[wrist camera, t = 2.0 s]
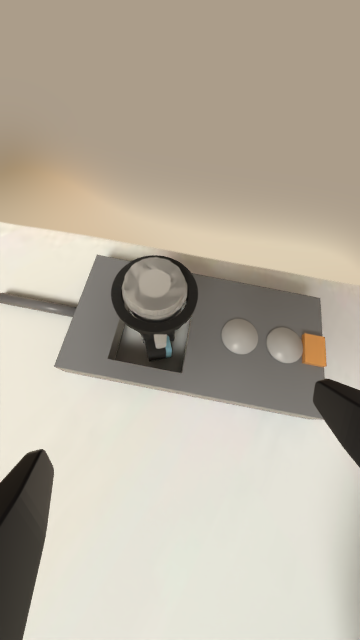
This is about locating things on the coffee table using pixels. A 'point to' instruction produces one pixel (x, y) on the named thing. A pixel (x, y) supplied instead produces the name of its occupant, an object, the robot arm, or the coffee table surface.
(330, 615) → the coffee table surface
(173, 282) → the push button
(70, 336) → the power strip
